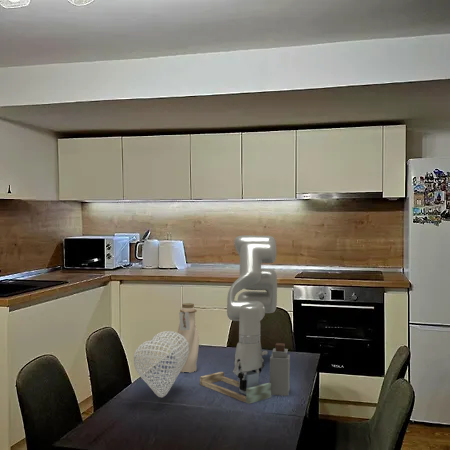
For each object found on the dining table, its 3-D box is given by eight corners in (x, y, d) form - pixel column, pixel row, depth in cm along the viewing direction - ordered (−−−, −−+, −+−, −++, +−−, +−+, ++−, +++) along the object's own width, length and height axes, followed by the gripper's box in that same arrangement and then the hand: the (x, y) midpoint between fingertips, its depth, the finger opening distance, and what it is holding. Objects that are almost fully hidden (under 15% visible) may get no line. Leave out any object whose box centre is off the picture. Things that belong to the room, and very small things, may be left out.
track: (221, 379, 221) (221, 366, 220) (271, 397, 199) (271, 383, 199) (199, 384, 213) (199, 371, 213) (248, 403, 192) (249, 389, 192)
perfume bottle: (287, 395, 201) (288, 346, 201) (269, 394, 202) (270, 345, 202) (289, 390, 208) (290, 342, 207) (271, 388, 209) (272, 341, 209)
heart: (170, 412, 183) (170, 346, 183) (126, 408, 187) (127, 343, 186) (193, 386, 211) (193, 328, 210) (154, 383, 214) (155, 326, 213)
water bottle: (197, 374, 227) (198, 306, 226) (175, 374, 227) (176, 306, 226) (199, 367, 237) (199, 302, 236) (178, 367, 237) (178, 302, 237)
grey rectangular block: (249, 389, 204) (249, 370, 204) (258, 392, 200) (258, 373, 200) (239, 391, 201) (239, 372, 200) (248, 395, 197) (248, 375, 197)
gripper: (259, 333, 208) (258, 381, 209) (224, 340, 197) (224, 390, 198) (273, 337, 203) (272, 386, 203) (238, 344, 191) (238, 396, 192)
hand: (248, 388), depth 200 cm, fingers closed on grey rectangular block, 5 cm apart
